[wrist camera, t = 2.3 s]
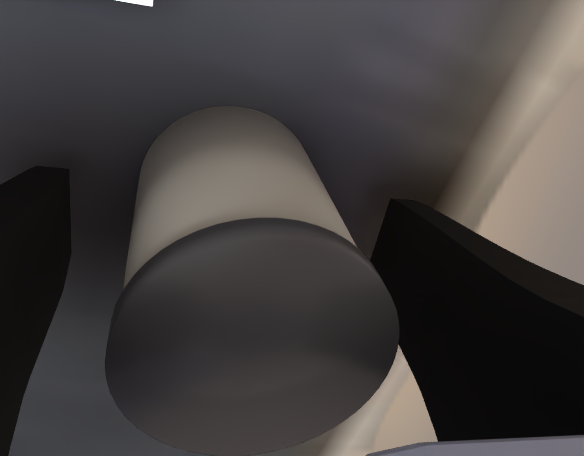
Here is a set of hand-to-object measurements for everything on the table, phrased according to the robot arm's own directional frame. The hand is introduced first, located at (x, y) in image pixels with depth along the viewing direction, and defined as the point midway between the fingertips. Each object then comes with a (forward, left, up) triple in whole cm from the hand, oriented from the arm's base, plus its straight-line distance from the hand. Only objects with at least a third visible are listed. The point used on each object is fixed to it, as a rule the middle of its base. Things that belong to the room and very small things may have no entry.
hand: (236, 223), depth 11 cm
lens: (0, 0, -2) cm, 2 cm away
